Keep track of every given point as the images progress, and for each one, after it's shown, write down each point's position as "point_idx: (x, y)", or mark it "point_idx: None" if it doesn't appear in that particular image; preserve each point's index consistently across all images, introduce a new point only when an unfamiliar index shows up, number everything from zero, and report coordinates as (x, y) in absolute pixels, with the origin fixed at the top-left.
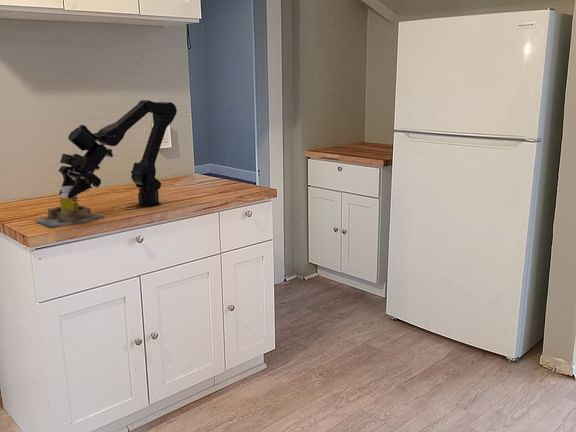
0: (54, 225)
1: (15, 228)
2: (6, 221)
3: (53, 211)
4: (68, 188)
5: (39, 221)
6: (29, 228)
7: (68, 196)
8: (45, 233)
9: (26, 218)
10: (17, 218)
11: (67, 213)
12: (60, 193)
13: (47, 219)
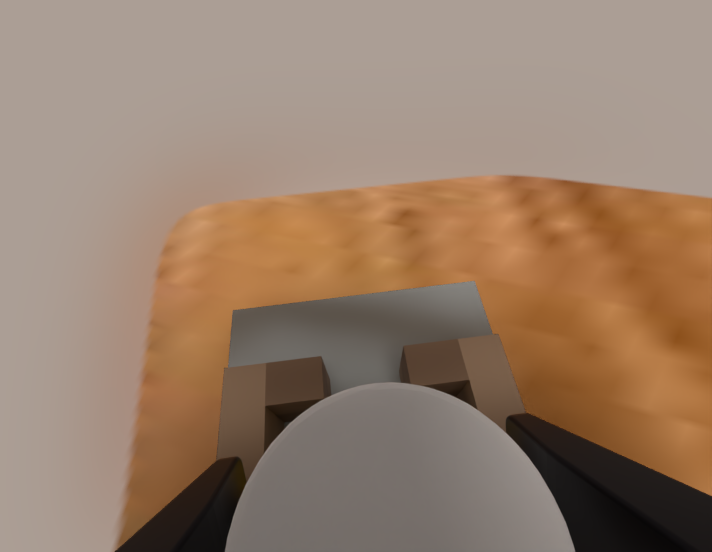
0: (232, 331)
1: (378, 190)
2: (562, 186)
3: (403, 358)
4: (234, 519)
5: (407, 289)
6: (331, 234)
7: (209, 469)
8: (167, 267)
9: (597, 270)
10: (619, 234)
11: (222, 431)
12: (516, 430)
13: (425, 340)
